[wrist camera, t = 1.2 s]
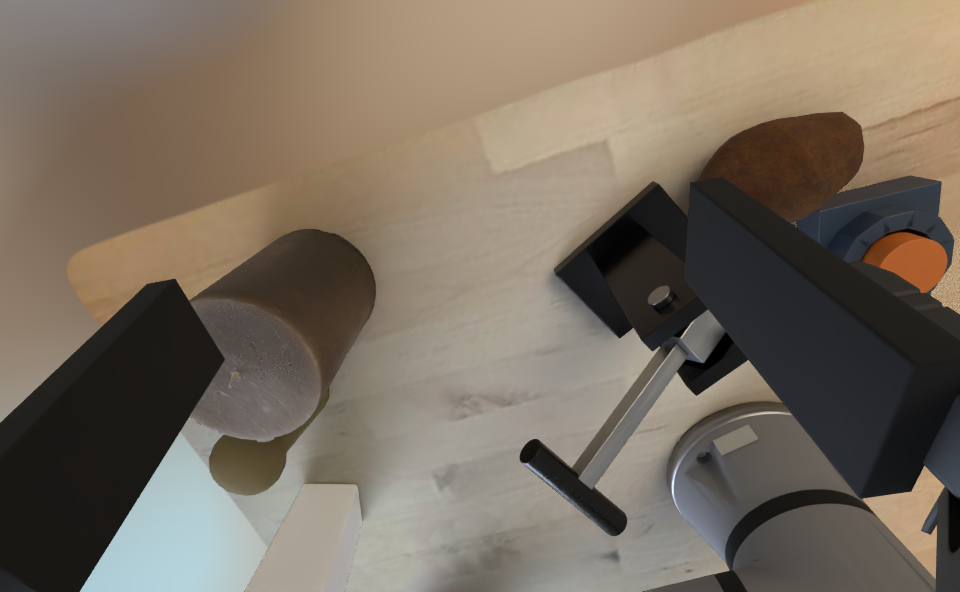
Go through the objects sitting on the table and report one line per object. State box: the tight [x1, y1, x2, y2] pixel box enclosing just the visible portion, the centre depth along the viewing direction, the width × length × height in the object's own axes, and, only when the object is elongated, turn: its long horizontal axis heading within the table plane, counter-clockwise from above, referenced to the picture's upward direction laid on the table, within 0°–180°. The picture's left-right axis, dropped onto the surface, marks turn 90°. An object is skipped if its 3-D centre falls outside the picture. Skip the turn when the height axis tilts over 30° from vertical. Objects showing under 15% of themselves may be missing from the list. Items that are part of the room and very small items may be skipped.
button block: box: [797, 176, 954, 295], centre depth 35 cm, size 9×8×4 cm
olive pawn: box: [209, 388, 329, 496], centre depth 39 cm, size 6×6×11 cm
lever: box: [520, 310, 726, 536], centre depth 26 cm, size 13×7×2 cm, turn 134°
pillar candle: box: [189, 229, 376, 442], centre depth 33 cm, size 10×10×15 cm
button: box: [861, 232, 947, 293], centre depth 32 cm, size 4×4×2 cm
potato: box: [699, 112, 864, 223], centre depth 32 cm, size 7×10×7 cm
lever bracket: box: [554, 181, 748, 396], centre depth 32 cm, size 10×8×14 cm
